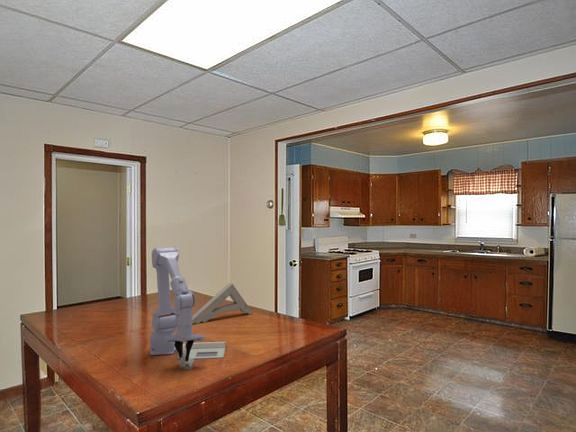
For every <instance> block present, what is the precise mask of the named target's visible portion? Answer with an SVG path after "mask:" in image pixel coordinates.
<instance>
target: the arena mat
mask: <svg viewBox="0 0 576 432" xmlns="http://www.w3.org/2000/svg"><path fill="white" fill-rule="evenodd" d="M185 350H186V349H185ZM225 352H226V347H225V348H201V349H191V351H190V355H189V359H195V360H200V359H201V360H203V359H204V360H205V359H223V358H224V356H225ZM178 361H180V359H179V360H178Z"/></svg>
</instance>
